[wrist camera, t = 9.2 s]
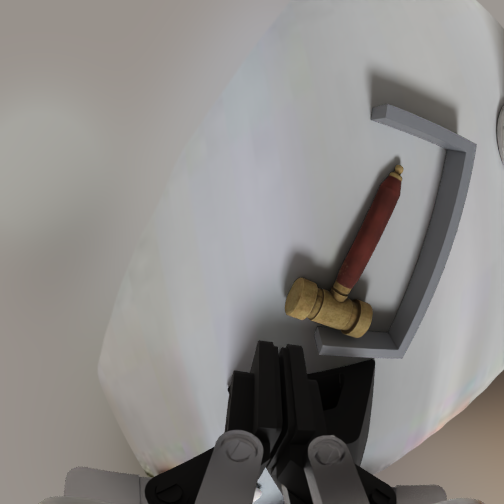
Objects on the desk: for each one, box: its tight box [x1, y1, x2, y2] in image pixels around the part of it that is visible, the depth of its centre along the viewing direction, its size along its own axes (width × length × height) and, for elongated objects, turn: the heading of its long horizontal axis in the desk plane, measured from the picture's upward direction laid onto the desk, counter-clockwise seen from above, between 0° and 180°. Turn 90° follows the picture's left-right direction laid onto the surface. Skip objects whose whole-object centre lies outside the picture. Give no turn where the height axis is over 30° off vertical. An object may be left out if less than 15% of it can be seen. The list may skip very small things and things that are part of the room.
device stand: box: [228, 359, 375, 495], centre depth 37 cm, size 22×22×15 cm
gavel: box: [285, 165, 403, 338], centre depth 31 cm, size 21×5×10 cm
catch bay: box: [314, 104, 477, 358], centre depth 30 cm, size 12×29×4 cm, turn 171°
